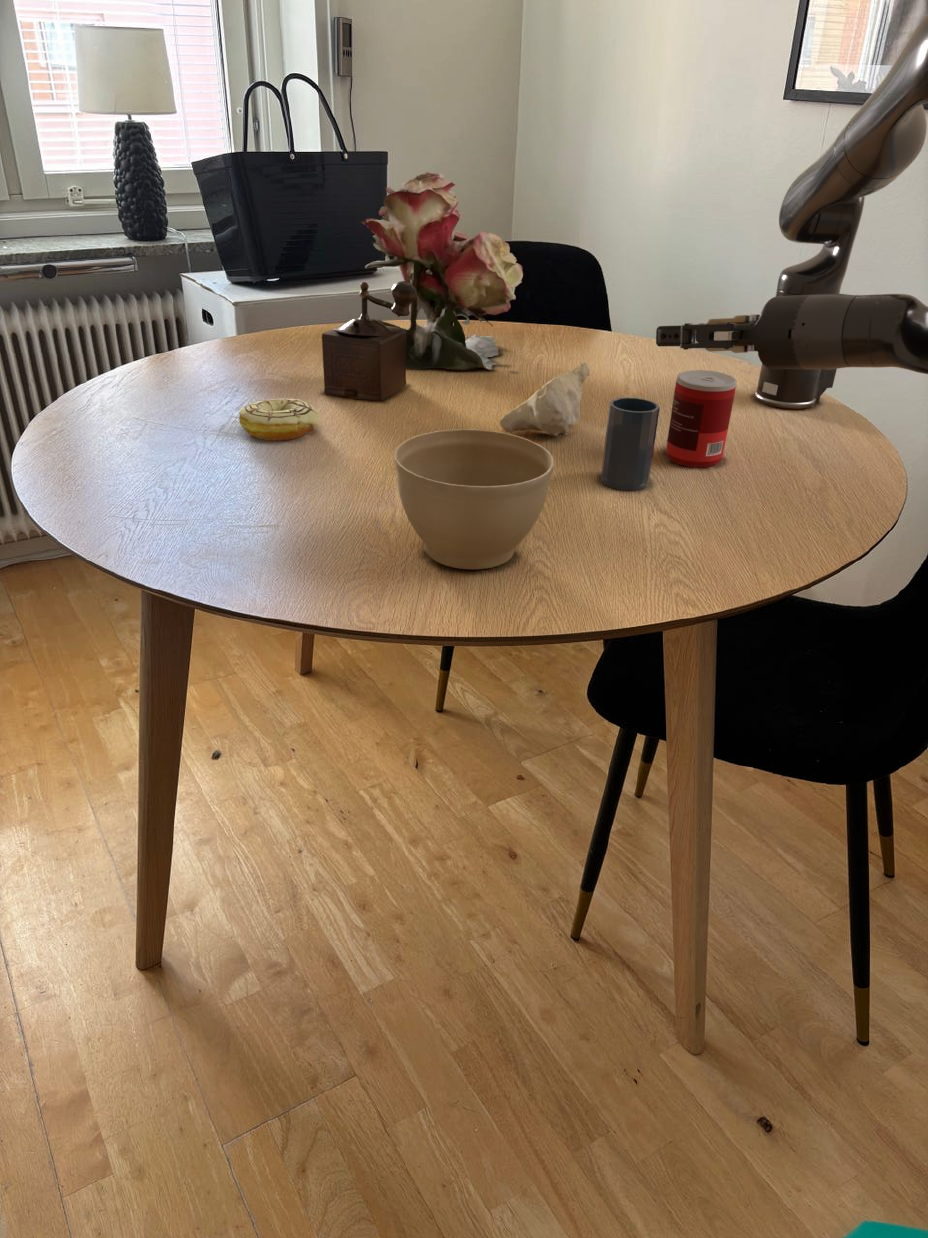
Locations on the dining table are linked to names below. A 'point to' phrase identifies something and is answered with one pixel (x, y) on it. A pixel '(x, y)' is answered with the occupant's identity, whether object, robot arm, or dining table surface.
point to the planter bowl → (472, 493)
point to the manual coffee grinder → (368, 351)
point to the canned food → (700, 417)
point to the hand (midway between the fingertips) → (677, 334)
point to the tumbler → (629, 443)
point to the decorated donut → (278, 418)
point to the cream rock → (550, 405)
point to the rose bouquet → (443, 273)
